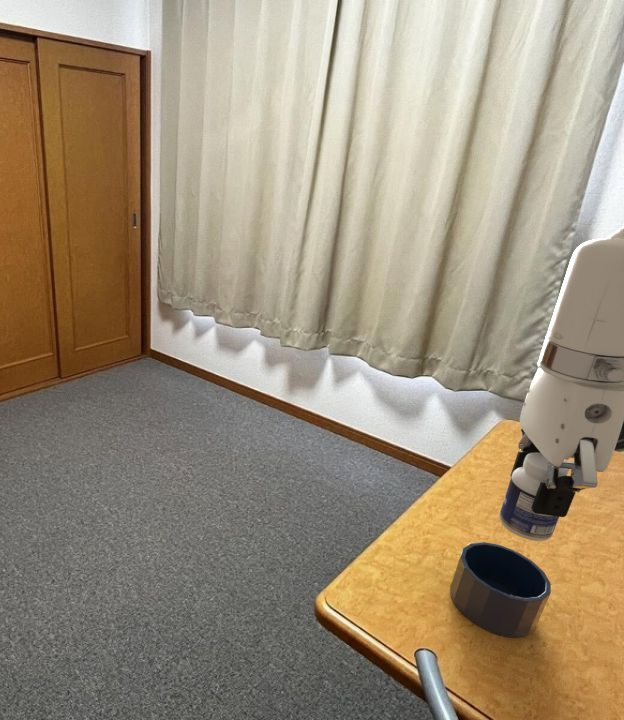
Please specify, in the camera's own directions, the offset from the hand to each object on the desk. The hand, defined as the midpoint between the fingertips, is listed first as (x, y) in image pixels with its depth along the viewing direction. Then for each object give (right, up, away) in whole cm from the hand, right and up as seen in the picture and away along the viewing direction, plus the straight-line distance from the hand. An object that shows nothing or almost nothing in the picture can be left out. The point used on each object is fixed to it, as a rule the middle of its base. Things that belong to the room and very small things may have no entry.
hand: (536, 495), depth 57 cm
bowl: (-1, -17, +6) cm, 18 cm away
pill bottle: (0, -5, +2) cm, 5 cm away
